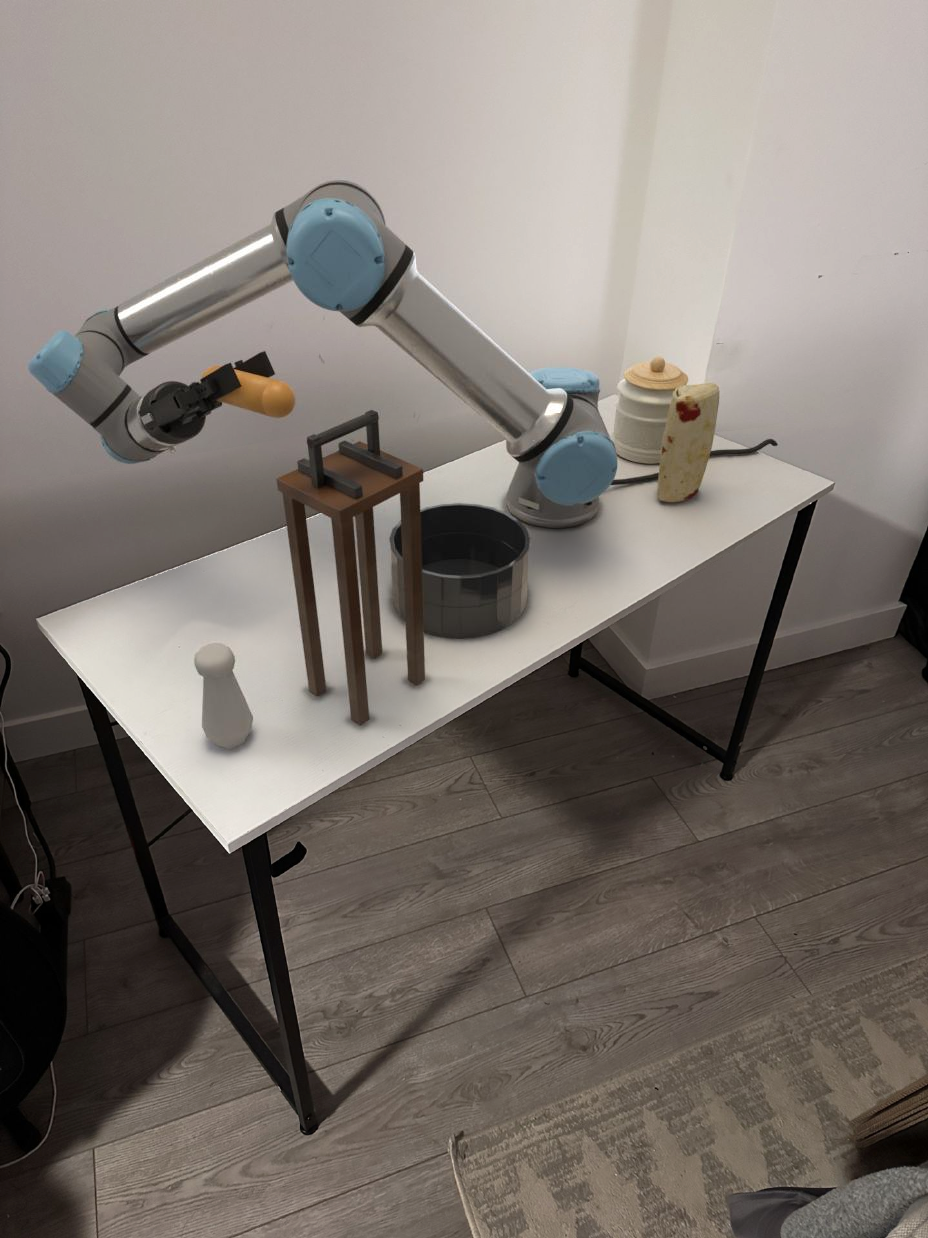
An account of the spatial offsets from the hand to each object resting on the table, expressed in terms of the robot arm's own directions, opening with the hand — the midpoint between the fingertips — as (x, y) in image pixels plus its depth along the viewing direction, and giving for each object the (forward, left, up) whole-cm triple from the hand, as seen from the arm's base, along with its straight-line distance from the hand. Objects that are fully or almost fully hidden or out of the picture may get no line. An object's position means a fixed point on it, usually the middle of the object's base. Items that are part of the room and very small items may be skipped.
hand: (250, 369), depth 98 cm
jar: (-65, -47, -37) cm, 89 cm away
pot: (-24, -5, -37) cm, 45 cm away
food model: (-65, -29, -38) cm, 81 cm away
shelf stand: (-10, +12, -37) cm, 40 cm away
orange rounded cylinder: (+1, -1, -5) cm, 5 cm away
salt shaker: (+7, +19, -38) cm, 42 cm away
